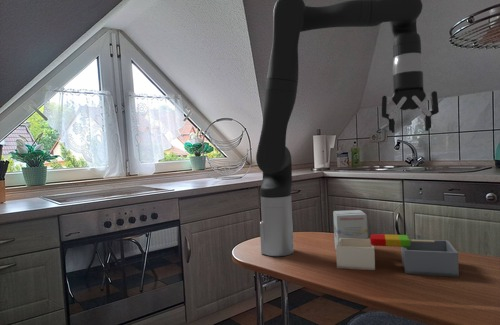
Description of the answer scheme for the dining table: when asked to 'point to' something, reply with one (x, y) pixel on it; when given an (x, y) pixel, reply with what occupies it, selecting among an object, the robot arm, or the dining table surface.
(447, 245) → the caddy
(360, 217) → the ink box
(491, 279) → the dining table surface
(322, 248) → the dining table surface
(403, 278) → the dining table surface
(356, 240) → the cream open box
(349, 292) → the dining table surface
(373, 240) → the popsicle
